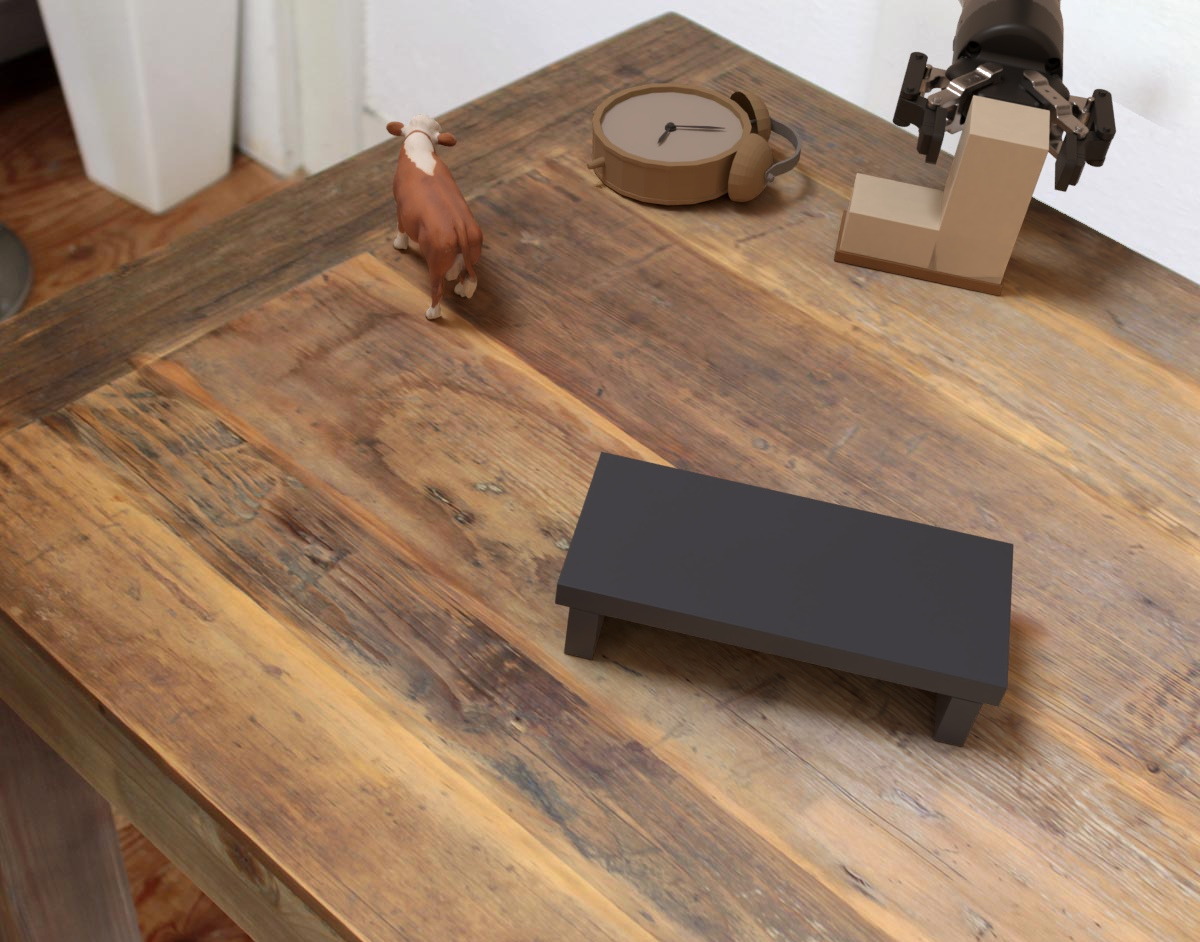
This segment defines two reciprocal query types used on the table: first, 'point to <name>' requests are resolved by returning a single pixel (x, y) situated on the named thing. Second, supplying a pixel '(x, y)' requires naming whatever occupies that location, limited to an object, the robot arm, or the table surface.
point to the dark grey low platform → (793, 582)
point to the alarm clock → (686, 144)
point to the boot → (954, 205)
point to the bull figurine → (434, 209)
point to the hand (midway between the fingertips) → (999, 165)
